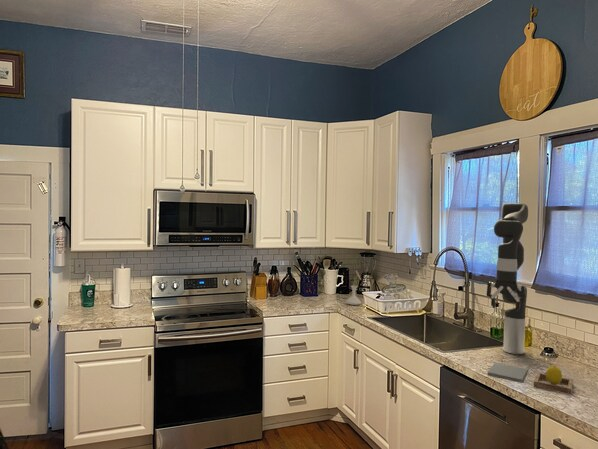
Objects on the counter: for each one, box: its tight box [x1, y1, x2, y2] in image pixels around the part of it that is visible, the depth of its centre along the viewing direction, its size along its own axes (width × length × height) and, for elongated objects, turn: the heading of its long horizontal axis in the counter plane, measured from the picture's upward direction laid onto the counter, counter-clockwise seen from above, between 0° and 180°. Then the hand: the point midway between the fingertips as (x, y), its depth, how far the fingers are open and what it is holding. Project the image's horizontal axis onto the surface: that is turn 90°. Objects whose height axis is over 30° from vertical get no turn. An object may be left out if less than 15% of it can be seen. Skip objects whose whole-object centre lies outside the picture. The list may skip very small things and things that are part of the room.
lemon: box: [545, 365, 563, 385], centre depth 172 cm, size 6×6×8 cm
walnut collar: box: [533, 372, 574, 395], centre depth 172 cm, size 12×12×2 cm
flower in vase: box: [345, 270, 362, 306], centre depth 324 cm, size 13×11×25 cm
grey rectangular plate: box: [487, 362, 529, 383], centre depth 185 cm, size 16×13×1 cm
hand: (505, 309), depth 178 cm, fingers open, 8 cm apart
